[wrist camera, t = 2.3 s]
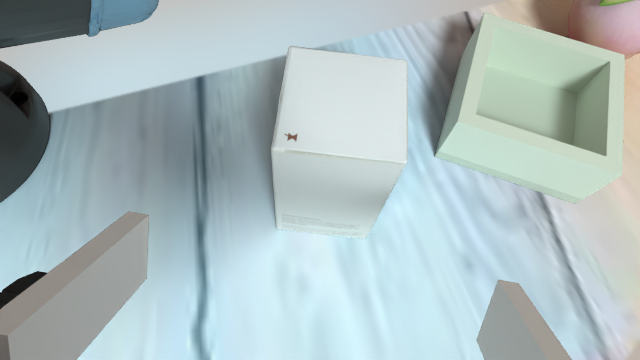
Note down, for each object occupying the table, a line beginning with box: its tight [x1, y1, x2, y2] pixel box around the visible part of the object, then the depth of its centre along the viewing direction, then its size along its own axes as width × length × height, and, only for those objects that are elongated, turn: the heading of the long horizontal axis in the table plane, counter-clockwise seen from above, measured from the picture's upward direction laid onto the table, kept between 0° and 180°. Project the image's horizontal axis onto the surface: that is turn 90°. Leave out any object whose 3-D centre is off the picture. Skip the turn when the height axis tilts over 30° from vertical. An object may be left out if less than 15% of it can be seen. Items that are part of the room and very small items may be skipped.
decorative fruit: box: [568, 0, 640, 59], centre depth 38 cm, size 9×8×10 cm
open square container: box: [435, 13, 625, 204], centre depth 36 cm, size 12×12×6 cm
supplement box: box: [271, 46, 408, 239], centre depth 28 cm, size 7×7×13 cm
